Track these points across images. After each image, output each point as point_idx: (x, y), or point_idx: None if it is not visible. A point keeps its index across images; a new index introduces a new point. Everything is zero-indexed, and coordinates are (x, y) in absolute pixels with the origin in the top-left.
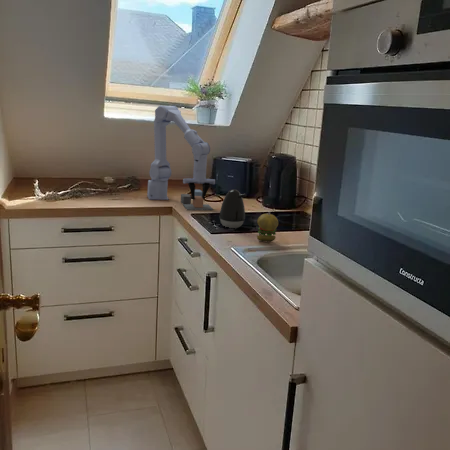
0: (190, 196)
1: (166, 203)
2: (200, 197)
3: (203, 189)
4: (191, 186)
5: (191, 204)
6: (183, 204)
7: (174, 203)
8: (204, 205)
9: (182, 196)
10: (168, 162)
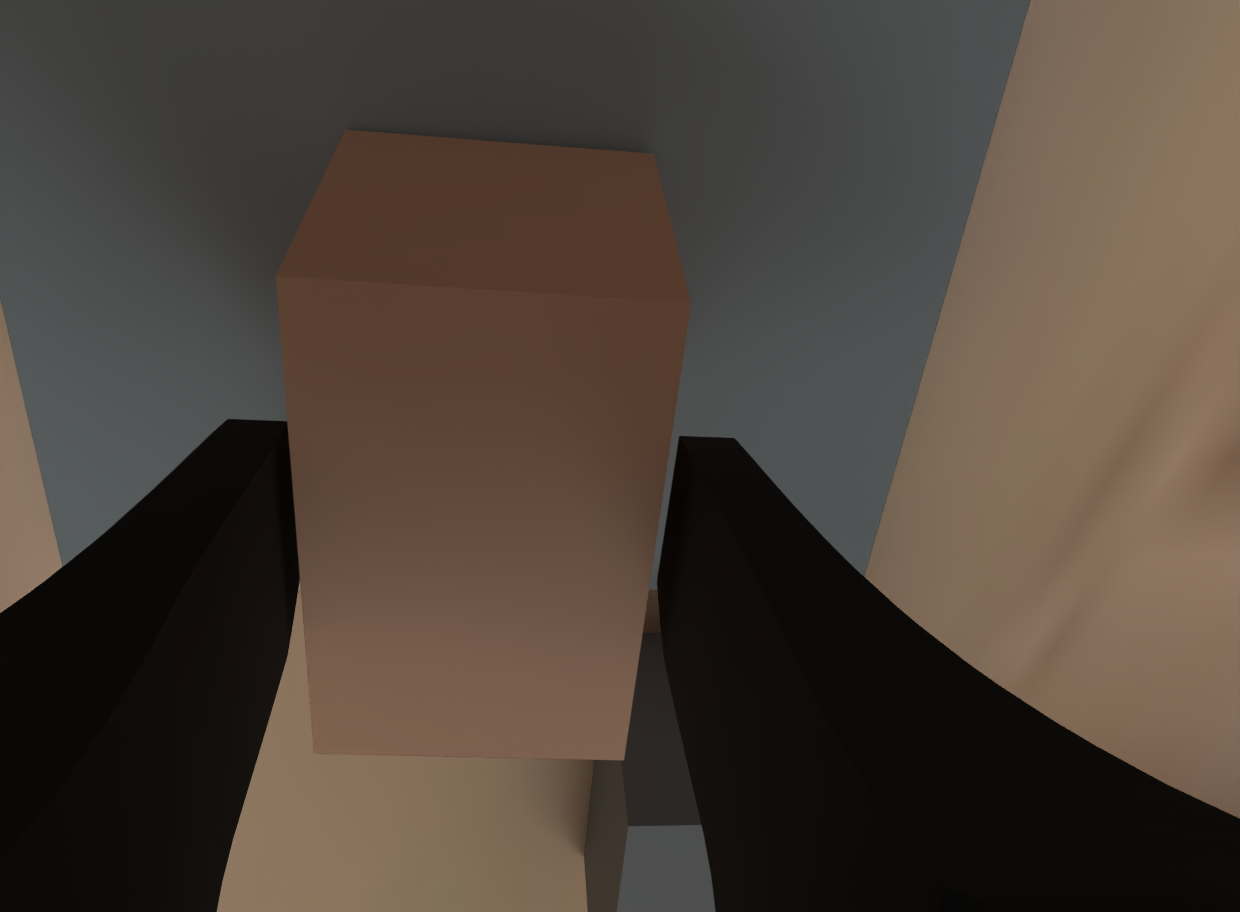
0: (640, 846)
1: (1174, 721)
2: (377, 555)
3: (164, 872)
4: (1234, 855)
5: None
6: (867, 560)
7: None
8: None
9: None
10: None
